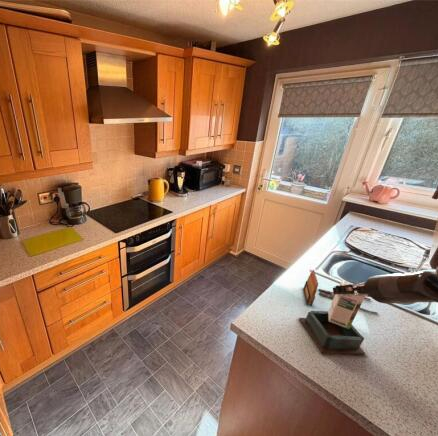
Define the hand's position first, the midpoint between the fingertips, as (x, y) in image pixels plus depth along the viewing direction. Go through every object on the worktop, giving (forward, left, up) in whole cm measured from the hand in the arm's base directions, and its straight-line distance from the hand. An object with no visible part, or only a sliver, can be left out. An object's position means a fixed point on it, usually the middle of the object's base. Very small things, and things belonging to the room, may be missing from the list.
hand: (346, 291), depth 77 cm
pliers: (-24, -6, -20) cm, 32 cm away
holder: (+1, +1, -20) cm, 20 cm away
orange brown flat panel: (-11, -15, -20) cm, 28 cm away
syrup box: (+1, +1, -12) cm, 12 cm away
